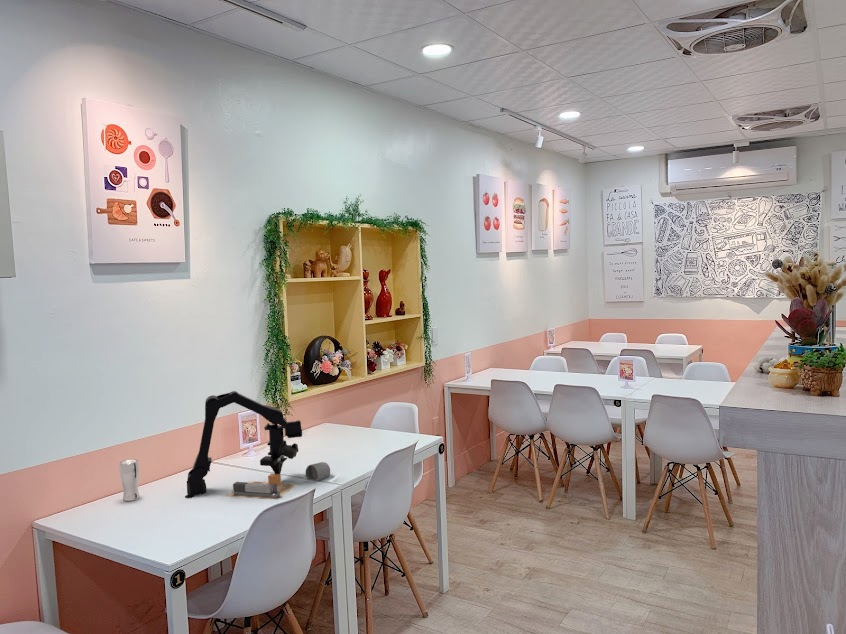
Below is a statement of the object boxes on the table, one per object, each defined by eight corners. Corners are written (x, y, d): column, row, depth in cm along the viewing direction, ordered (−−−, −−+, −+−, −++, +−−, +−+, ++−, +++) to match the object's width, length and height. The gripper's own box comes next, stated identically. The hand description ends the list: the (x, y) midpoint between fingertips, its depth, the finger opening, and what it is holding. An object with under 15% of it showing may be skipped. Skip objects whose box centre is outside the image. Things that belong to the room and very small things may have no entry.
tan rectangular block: (268, 485, 264) (268, 475, 263) (272, 483, 267) (271, 473, 266) (277, 486, 263) (277, 476, 262) (280, 483, 266) (280, 474, 265)
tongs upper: (273, 491, 252) (273, 484, 252) (270, 493, 249) (270, 486, 249) (236, 488, 256) (236, 481, 256) (233, 491, 253) (232, 483, 253)
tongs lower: (281, 495, 252) (281, 483, 251) (277, 498, 248) (276, 486, 248) (237, 492, 256) (237, 480, 256) (232, 495, 253) (232, 483, 253)
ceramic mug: (332, 479, 273) (331, 461, 273) (318, 484, 267) (317, 466, 266) (314, 475, 280) (313, 458, 279) (300, 480, 273) (299, 463, 273)
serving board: (225, 499, 253) (225, 496, 253) (249, 483, 270) (249, 481, 270) (277, 502, 248) (276, 499, 247) (297, 486, 265) (297, 484, 265)
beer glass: (133, 502, 252) (131, 464, 251) (117, 501, 254) (115, 464, 253) (144, 496, 259) (142, 459, 258) (129, 495, 261) (126, 458, 260)
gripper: (284, 446, 256) (285, 485, 257) (304, 434, 274) (305, 470, 275) (258, 445, 258) (260, 483, 260) (280, 433, 276) (281, 469, 278)
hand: (278, 476), depth 268 cm, fingers closed
